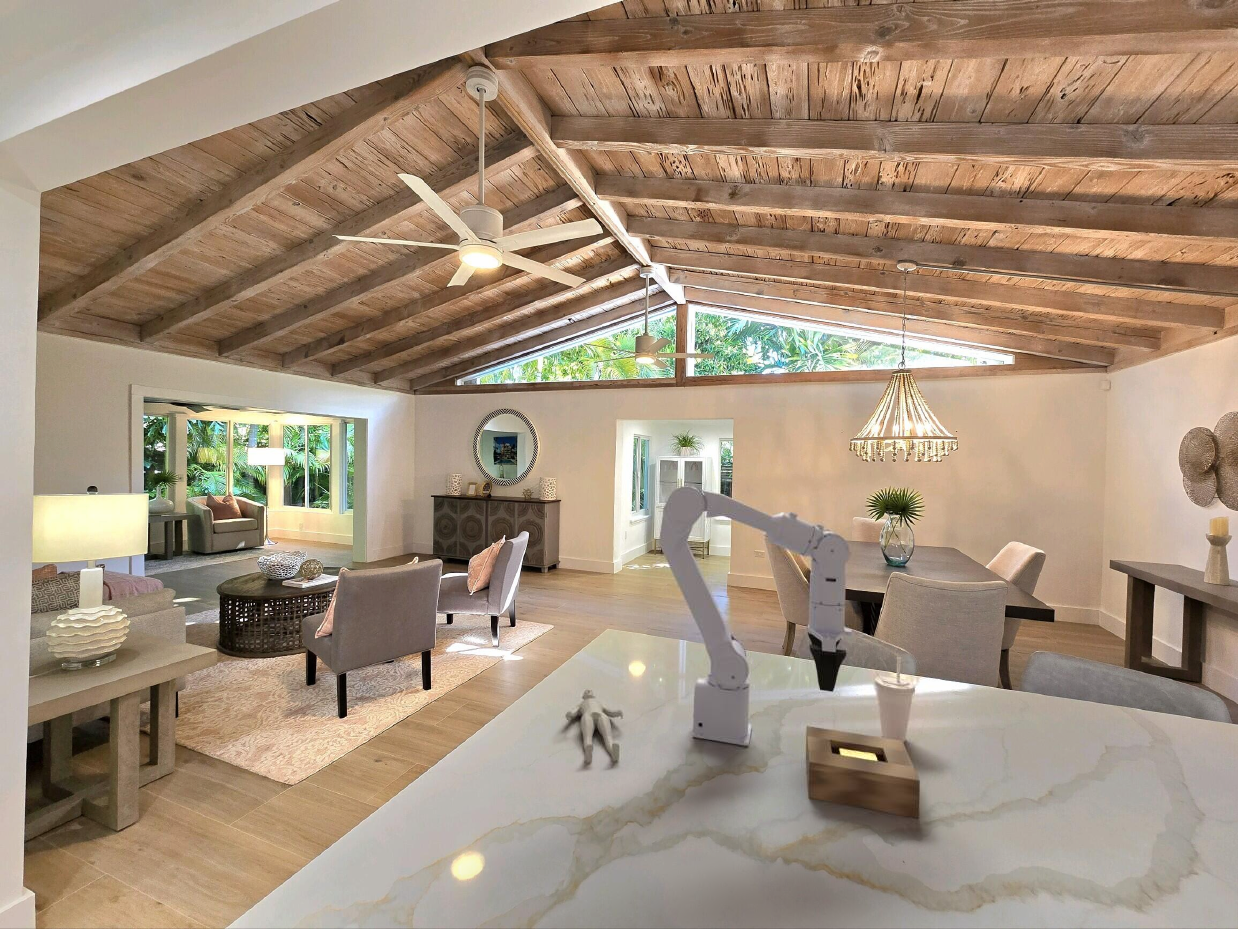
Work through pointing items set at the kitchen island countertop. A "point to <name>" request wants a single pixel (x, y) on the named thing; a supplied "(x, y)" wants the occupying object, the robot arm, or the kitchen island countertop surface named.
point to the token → (857, 754)
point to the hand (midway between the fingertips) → (824, 682)
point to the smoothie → (894, 704)
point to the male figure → (595, 724)
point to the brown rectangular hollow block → (861, 772)
